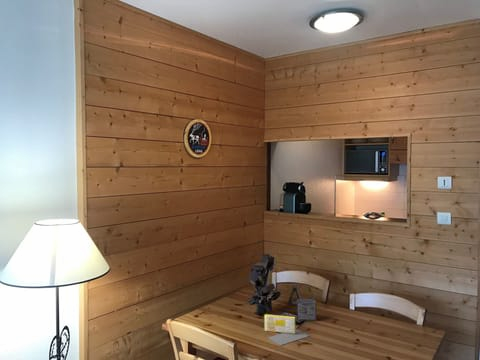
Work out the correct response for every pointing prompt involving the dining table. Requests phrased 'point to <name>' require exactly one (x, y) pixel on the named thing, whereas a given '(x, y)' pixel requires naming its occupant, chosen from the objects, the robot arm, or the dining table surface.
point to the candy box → (279, 324)
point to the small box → (306, 309)
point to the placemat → (288, 337)
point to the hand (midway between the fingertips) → (271, 312)
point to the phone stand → (293, 295)
